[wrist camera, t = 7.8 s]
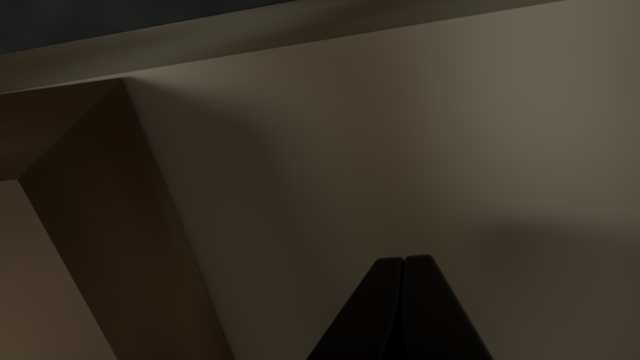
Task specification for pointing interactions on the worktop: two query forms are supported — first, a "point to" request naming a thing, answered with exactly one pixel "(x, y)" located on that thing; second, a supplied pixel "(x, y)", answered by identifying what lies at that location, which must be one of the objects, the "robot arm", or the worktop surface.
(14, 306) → the brown square bar
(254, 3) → the worktop surface
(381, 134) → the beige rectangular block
